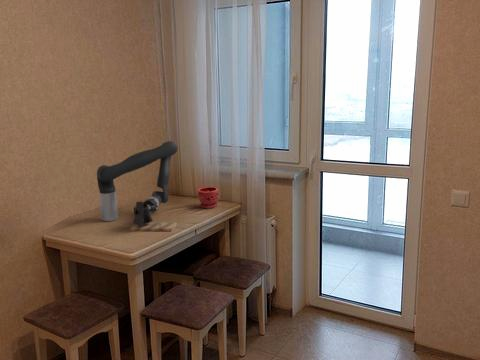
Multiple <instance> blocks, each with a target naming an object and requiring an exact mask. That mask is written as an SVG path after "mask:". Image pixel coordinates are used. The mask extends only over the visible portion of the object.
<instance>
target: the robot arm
mask: <svg viewBox="0 0 480 360" xmlns="http://www.w3.org/2000/svg"><path fill="white" fill-rule="evenodd" d="M177 151H178V144H177V143H176V142H174V141H172V140H170V141H169V140H168V141H165V142H163V143H162V144H161V145H159V146H157V147H155V148H151V149H150V148H149V149H146V150H142V151H140V152H136V153H134V154H132V155H129V156H127V157H126V158H125V159H124V160H123V161H120V162H119V163H118V162H117V164H112V165H105V164H103V165H100V166H99V167H98V168H97V171H96V179H97V180H96V181H97V186H98V191H99V198H100V204H99V213H100V220H101V221H103V222H113V221H114V222H115V221H117V220H119V214H118V203H117V194H116V193H117V192H116V186H115V183H114V180H115V179H117V178H119V177H121V176H124V175H125V174H129V173H130V172H134V171H136V170H140V169H142V168H144V167H146V166H149V165H151V164H153V163H154V162H156V161H158V160H160V161H159V170H158V174H157V175H158V177H157V180H156V187H157V188H160V189H162V191H159V190H156V191H155V190H154V191H153V192H152V194H151V196H150V197H148V198H147V199H145V201H143V202H144V203H147V208H148V210H146V211H145V214H148V213H153V214H154V213H155V212H157V211H159V206H160V205H161V204H166V203H168V202H169V197H170V196H169V181H170V174H171V173H170V164H171V163H170V162H171V160H172V156H173V155H175V154H176V153H177ZM132 208H133V214H134V215H135V214H137V210H136V205H135V206H134V207H132Z"/></svg>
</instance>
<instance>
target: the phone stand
mask: <svg viewBox="0 0 480 360" xmlns="http://www.w3.org/2000/svg"><path fill="white" fill-rule="evenodd" d="M135 206H136V210H137V214H134V218H133V222H132V223H133V225H134V224H137V225H143V224H146V223H153V221H154V220H153V219H152V218H153V217H152V216H151V214H150V213H148V214H145V211H146V210H148V208H147V203H144V201H140V200H139V201H136V203H135Z"/></svg>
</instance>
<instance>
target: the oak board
mask: <svg viewBox="0 0 480 360" xmlns="http://www.w3.org/2000/svg"><path fill="white" fill-rule="evenodd" d="M176 227H177V222H149V223H146V224H143V225H137V224H134V223H133V225H132V226H130V227H129V231H134V232H135V231H137V232H141V231H142V232H144V231H145V232H172V231H173V230H174V229H175V228H176Z"/></svg>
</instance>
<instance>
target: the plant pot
mask: <svg viewBox="0 0 480 360" xmlns="http://www.w3.org/2000/svg"><path fill="white" fill-rule="evenodd" d="M197 194H198V199H199V202H200V204H199V205H200V207H202V208H204V209H212V208H213V209H214V208H216V207H217V206H218V204H219V203H218V199H219V189H218V188H217V187H214V186H205V187H201V188H199V189H198V190H197Z"/></svg>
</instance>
